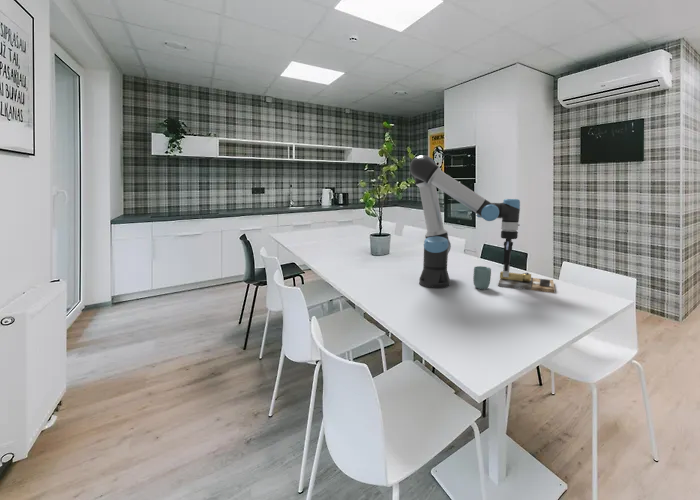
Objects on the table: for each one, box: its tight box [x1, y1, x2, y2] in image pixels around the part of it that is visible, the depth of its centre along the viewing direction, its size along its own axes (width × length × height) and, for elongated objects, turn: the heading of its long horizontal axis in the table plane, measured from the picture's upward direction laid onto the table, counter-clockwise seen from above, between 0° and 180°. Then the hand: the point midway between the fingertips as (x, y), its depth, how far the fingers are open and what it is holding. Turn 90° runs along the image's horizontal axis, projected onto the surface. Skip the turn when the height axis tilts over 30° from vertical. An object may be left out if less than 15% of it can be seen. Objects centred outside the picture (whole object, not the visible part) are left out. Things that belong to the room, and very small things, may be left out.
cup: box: [473, 265, 492, 290], centre depth 168 cm, size 8×8×10 cm
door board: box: [497, 276, 556, 294], centre depth 173 cm, size 24×18×5 cm
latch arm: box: [499, 270, 532, 282], centre depth 175 cm, size 14×4×4 cm, turn 56°
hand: (505, 276), depth 176 cm, fingers closed
